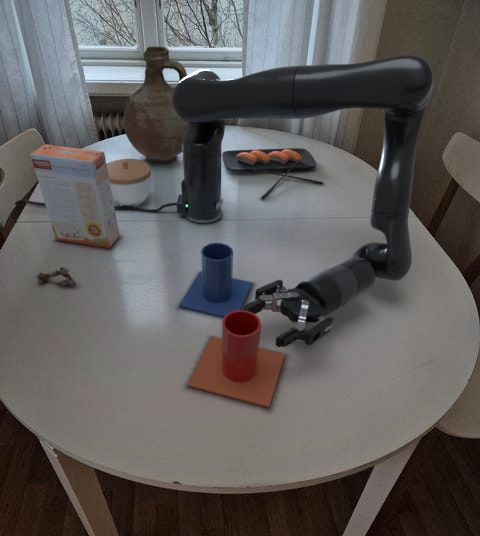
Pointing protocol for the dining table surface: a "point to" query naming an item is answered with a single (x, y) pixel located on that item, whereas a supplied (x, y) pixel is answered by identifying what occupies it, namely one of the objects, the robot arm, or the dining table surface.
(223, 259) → the blue cup
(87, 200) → the cracker box
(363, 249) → the robot arm
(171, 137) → the jug
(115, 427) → the dining table surface
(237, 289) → the blue mat
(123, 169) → the lidded bowl
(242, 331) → the red cup
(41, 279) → the chicken wing bone
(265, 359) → the terracotta mat
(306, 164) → the sushi plate
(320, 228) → the dining table surface
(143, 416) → the dining table surface
